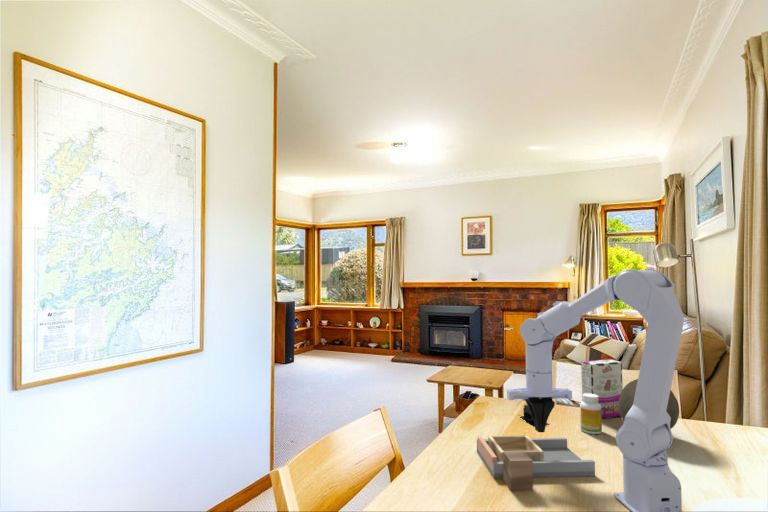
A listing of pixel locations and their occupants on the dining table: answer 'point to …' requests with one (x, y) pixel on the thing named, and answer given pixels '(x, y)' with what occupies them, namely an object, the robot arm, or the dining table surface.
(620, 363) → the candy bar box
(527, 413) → the black box
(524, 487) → the walnut block
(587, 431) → the supplement bottle
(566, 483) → the dining table surface
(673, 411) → the dark grey ball
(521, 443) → the crate
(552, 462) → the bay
